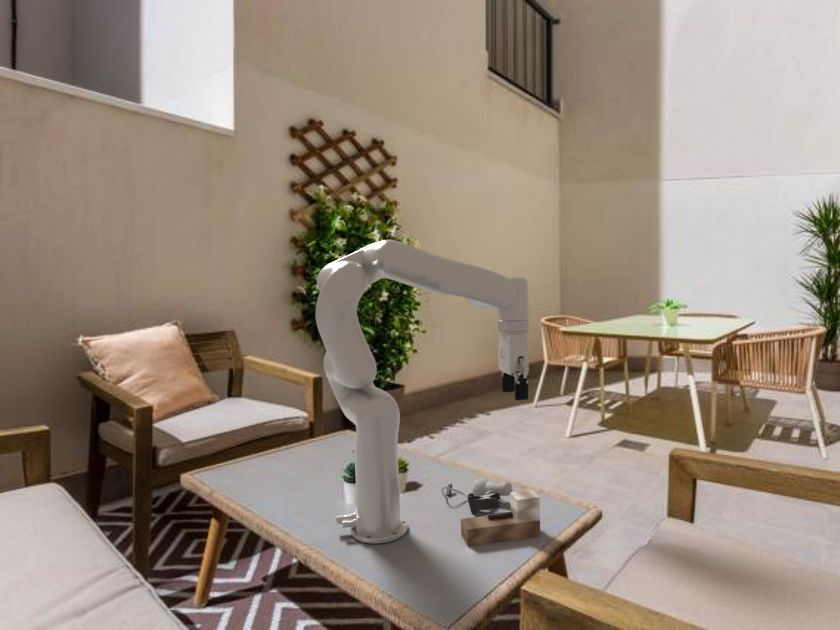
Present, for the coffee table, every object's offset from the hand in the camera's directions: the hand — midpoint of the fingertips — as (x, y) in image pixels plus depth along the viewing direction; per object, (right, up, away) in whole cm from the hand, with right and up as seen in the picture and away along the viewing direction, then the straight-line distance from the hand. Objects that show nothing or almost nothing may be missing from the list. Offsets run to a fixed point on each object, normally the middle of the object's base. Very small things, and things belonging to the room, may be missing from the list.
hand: (514, 395), depth 129 cm
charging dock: (-6, -27, -18) cm, 33 cm away
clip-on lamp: (-10, -27, -1) cm, 29 cm away
